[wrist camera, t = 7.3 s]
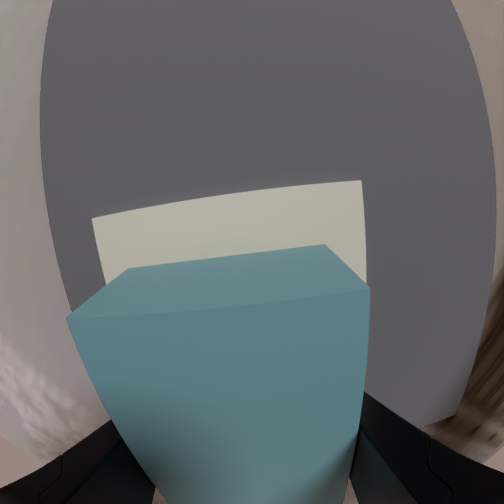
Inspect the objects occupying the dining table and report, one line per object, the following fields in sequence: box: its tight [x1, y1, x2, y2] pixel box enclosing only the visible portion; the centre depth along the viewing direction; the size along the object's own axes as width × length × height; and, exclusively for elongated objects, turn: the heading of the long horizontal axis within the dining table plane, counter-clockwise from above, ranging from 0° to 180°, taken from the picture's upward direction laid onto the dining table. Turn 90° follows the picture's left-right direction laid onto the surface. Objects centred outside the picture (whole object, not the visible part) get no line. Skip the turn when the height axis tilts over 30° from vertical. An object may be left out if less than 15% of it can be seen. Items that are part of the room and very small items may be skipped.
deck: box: [66, 244, 370, 504], centre depth 7 cm, size 8×5×3 cm, turn 7°
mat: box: [40, 0, 496, 429], centre depth 8 cm, size 16×22×1 cm
